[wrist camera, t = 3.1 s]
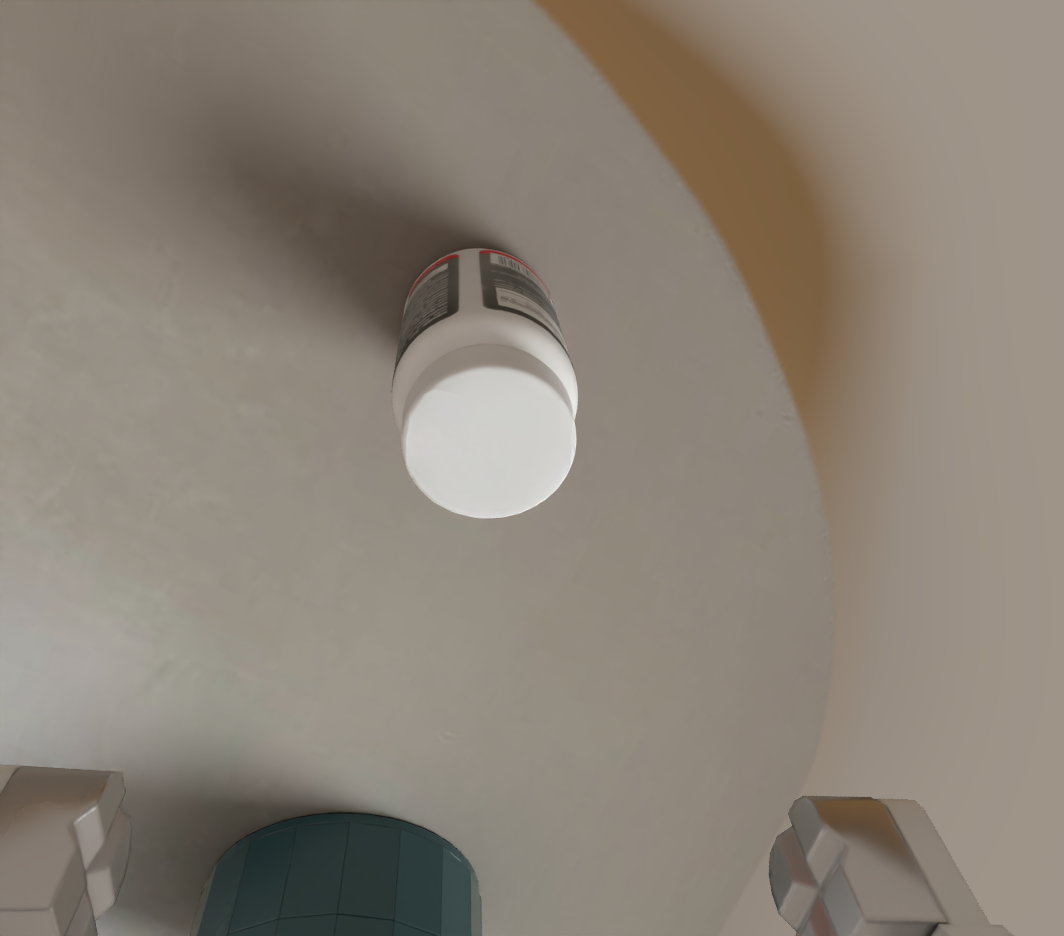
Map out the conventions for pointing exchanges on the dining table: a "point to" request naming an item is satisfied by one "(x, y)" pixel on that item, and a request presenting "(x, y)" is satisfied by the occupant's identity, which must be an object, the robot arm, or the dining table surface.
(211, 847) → the dining table surface
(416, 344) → the pill bottle
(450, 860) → the enamel pot
